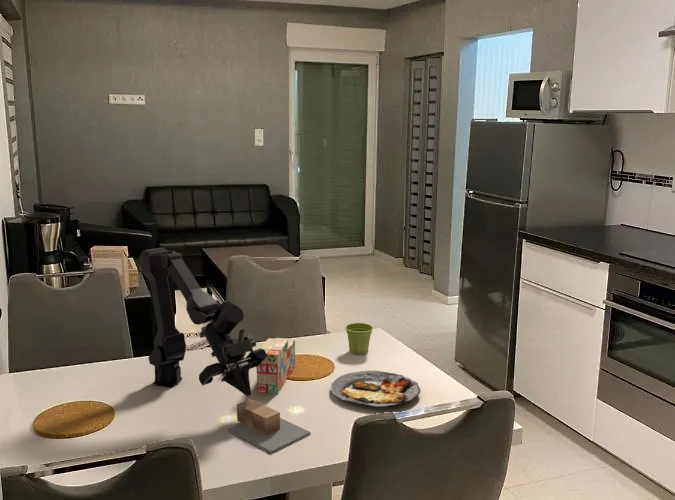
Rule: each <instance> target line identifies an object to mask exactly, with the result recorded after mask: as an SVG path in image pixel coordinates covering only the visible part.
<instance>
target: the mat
mask: <svg viewBox="0 0 675 500" xmlns="http://www.w3.org/2000/svg"><path fill="white" fill-rule="evenodd" d="M227 431H228V432H230V433H231V434H234V436H237V437H239V438H241V439H243V440H245V441H247V442H248V443H251V444H252V445H254V446H256V447H258V448H259V449H262V450H264V451H266V452H268V453H269V454H271V455H272V454H273V453H277V451H280V450H282V449H283V448H286V447H288V446H290V445H292V444H294V443H295V442H298V441H299V440H302V439H304V438H305V437H308V436H310V435H311V434H312V433H311V431H310V430H307V429H305V428H303V427H301V426H299V425H296V424H294V423H293V422H290V421H288V420H286V419H283V418H281V417H280V429H279V430H277V431H275V432H273V433H271V434H269V435H264V434H262V433H260V432H258V431H256V430H254V429H252V428H250V427H248V426H246V425H244V424H242V423H240V422H238V424H235V425H232V426H230V427H227Z"/></svg>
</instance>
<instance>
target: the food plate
mask: <svg viewBox="0 0 675 500" xmlns="http://www.w3.org/2000/svg"><path fill="white" fill-rule="evenodd" d="M351 387H352V388H351ZM330 391H331V392H332V394H333V395H334V396H336V397H337V398H339V399H340V400H341V401H347V402H351V403H356V404H358V405H365V406H371V407H378V408H390V407H394V406H395V407H396V406H400V405H404V404H406V403H407V404H408V403H410V402H412V401H413V400H414V399H415V398H416V397H418V396H419V395H420V394H421V392H422V391H421V387H420V386H419V383H418V382H417V381H415V380H412V378H410V377H407V376H404V375H403V374H398V373H394V372H386V371H381V370H361V371H355V372H348V373H345V374H343V375H339V376H338V377H337V378H336V379H335V380H334V381H332V382H331V384H330Z"/></svg>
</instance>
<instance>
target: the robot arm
mask: <svg viewBox="0 0 675 500" xmlns="http://www.w3.org/2000/svg"><path fill="white" fill-rule="evenodd" d="M138 262H139V266H140V269H141V272H142V275H144V277H146V279H147V280H148V281H149V285H150V290H151V291H150V292H151V297H152V304H153V309H154V310H153V311H154V314H155V321H156V326H157V332H156V335H155V338H154V340H153V345H154V347H153V350H152V351H151V353H150V354H149V355H148V362H149V365H152V366H153V367H154V381H153V382H152V385H153V386H158V387H159V386H161V387H166V388H167V387H168V388H174V387H175V386H176V385H177V384H178V383H179V382H181V381H182V380H183V377H182V368H181V366H180V362H181V361H184V359H185V354H186V352H187V351H186V350H187V344H186V341H185V339H186V338H185V334H184V332H180V331H179V330H178V329H177V327H176V321H175V316H174V310H173V309H174V308H173V304H172V303H173V302H172V299H171V292H170V286H169V280H168V279H169V278H168V277H169V275H170V277H171V279H172V280H173V282H174V283H175V285H176V286H177V288H178V290H179V292H180V294H181V295H182V296H183V297H184V300H185V301H186V313H187V314H188V317H189V319H190V321H191V322H192V323H193V324H194V325H198V326H199V325H203V324H206V323H207V324H206V325H205V326H202V327H200V328H201V329H200V332H199V338H202V339H203V338H205V339H206V340H207V343H208V344H209V346H210V348H211V350H212V352H211V353H210V355H211V356H212V358H215V357H216V359H217V361H218V362H215V363H211V364H209V365H206V366H205V368H204V369H202V371H201V372H200V373H199V374H198V380H199V382H200V384H201V386H205V385H208V384H211V383H213V380H214V377H216V376H219V375H221V376H222V379H221V382H222V383H224V382H225V383H226V384H228V385H230V386H231V387H233V388H235V389H236V390H237V391H239V392H240V393H242V394H243V395H244V396H246V397H248V396H250V395H252V390H251V389H252V388H251V384H250V370H251V369H254V368H257V366H258V365H260V364H261V363H262V361H263V360H264V359H265V358H266V357H267V356H268V355H267V353H266V352H265V350H264V349H261V347H260V348H257V349H253V348H254V347H256V346H257V342H256V339H255V337H254V336H253V334H249V335H245V336H243V340H242V342H238V339H236V338H232V337H231V333H233V332H234V330H236V328H237V327H238V326H239V324H240V323H242V321H243V320H244V318H245V317H244V316H245V314H244V311H243V309H241V308H240V307H239V306H238V305H236V304H232V303H231V301H230V300H225V301H222V302H221V304H219V303H218V302H217V301H216V299H215V298H214V297H213V296H212V294H210V293H208V292H206V291H204V290H203V289H202V288H201V287H200V285H199V283H198V282H197V280H196V279H195V277H194V276H193V273H192V272H191V270H190V269H189V267H188V266H187V264H186V263H185V262H184V258H183V255H182V254H181V253H180V252H176V251H175V250H173V251H172V250H167V249H166V247H157V248H151V249H150V248H149V249H144V250H142V251H141V253H140V254H139V256H138ZM248 352H249V353H248ZM247 353H248V355H247ZM243 356H244V358H243V359H242V357H243Z"/></svg>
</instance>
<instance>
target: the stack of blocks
mask: <svg viewBox="0 0 675 500" xmlns="http://www.w3.org/2000/svg"><path fill="white" fill-rule="evenodd" d="M295 347H296V340H295V338H285V337H283V338H282V337H275V338H271V337H270V338H267V339H266V341H265V342H264V343H263V345H262V346H261V347H260V348H261V349H264V350H265V352H266V353H267V355H268V356H267V357H266V358H265V359H264V360H263V361H262V363H261V364H260V365H258V366H257V367H256V393H257V394H264V395H265V394H267V395H276V396H277V395H279V393H280V391H282V389H283V387H284V386H285V384H286V383H287V380H288V379H287V376H288V375H289V373H290V372H291V370H292V369H293V367H294V365H295V366H296V348H295ZM293 370H294V369H293ZM289 376H290V375H289Z"/></svg>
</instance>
